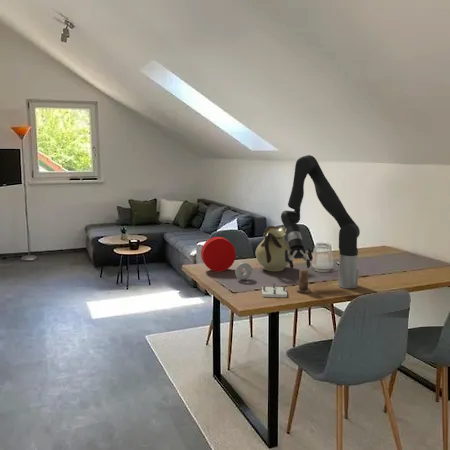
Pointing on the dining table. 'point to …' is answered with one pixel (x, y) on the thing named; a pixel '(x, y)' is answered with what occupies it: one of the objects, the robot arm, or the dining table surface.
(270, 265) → the tied beige sack
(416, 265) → the dining table surface
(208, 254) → the red round disc
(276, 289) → the locating plate
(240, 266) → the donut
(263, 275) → the dining table surface
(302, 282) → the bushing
